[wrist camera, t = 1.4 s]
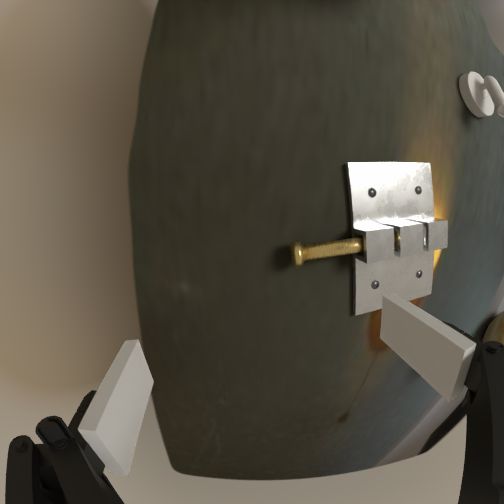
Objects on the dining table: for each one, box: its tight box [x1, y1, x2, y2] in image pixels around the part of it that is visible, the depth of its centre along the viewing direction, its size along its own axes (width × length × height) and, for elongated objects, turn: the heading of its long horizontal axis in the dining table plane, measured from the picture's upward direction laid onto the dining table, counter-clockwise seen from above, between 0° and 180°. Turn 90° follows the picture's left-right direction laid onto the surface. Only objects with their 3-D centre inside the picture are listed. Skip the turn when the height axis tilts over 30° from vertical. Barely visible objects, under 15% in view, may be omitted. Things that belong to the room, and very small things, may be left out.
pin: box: [290, 232, 398, 267], centre depth 31 cm, size 3×16×3 cm, turn 97°
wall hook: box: [459, 72, 504, 117], centre depth 26 cm, size 9×10×10 cm
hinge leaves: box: [345, 162, 448, 315], centre depth 32 cm, size 20×14×4 cm
